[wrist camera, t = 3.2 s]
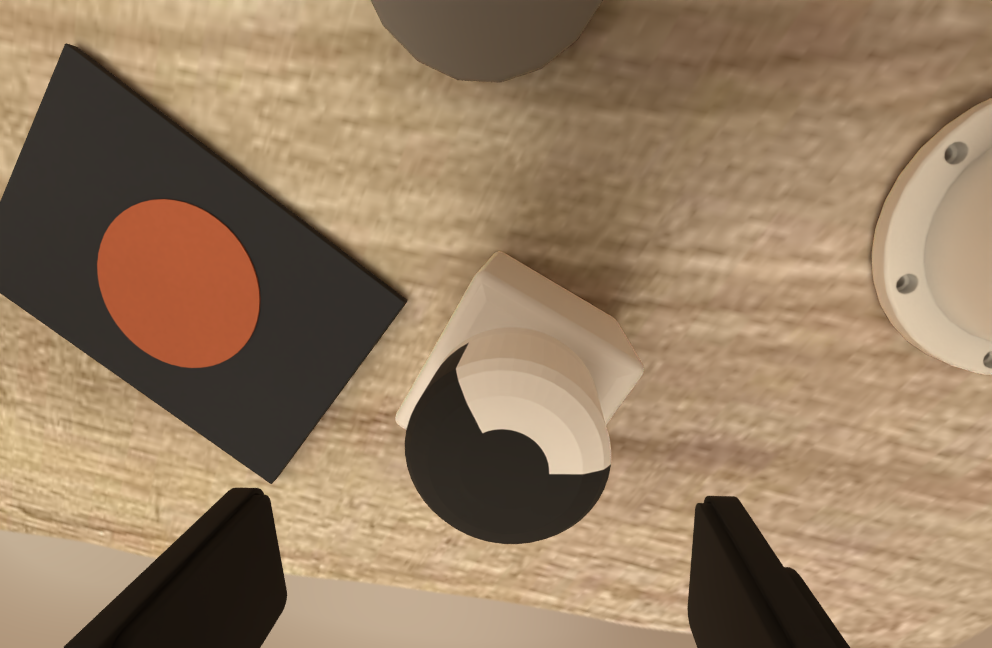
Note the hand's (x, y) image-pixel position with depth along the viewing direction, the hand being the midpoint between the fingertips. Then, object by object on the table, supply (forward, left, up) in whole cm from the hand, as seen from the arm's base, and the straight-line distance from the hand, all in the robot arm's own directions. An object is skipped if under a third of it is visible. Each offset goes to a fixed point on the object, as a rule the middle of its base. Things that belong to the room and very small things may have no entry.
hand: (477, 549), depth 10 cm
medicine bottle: (0, 0, -15) cm, 15 cm away
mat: (+16, +9, -15) cm, 23 cm away
